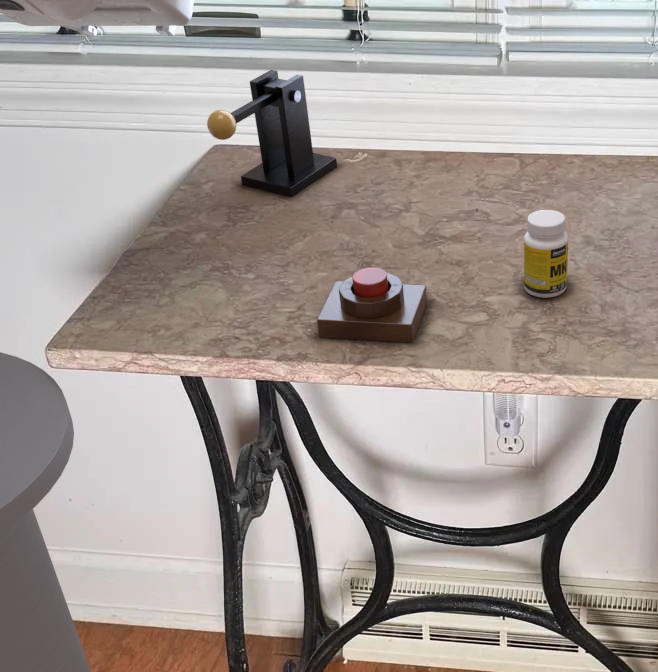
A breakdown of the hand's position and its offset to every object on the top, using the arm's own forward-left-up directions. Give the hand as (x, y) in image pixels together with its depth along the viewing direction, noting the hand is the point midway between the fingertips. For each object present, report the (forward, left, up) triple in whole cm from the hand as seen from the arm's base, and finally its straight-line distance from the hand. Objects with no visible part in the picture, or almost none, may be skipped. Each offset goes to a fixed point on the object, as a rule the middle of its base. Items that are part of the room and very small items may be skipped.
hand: (130, 29), depth 130 cm
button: (+6, -35, -20) cm, 41 cm away
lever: (+13, 0, -14) cm, 19 cm away
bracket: (+18, +2, -23) cm, 30 cm away
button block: (+6, -35, -23) cm, 43 cm away
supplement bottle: (+24, -42, -24) cm, 54 cm away
